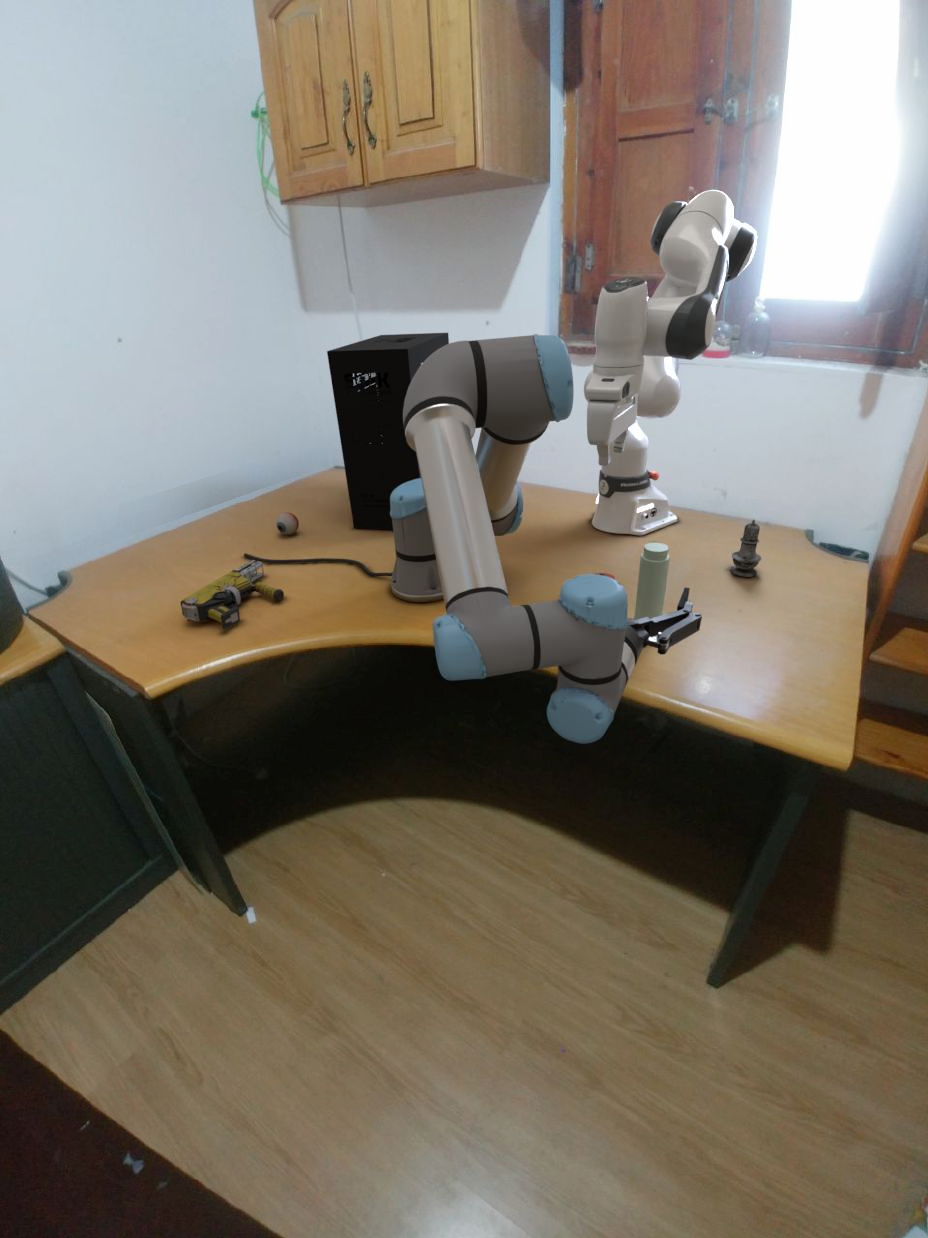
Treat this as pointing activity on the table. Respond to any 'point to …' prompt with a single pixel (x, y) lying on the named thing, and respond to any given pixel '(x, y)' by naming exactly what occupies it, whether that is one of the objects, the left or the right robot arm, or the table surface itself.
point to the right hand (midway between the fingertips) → (611, 458)
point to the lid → (606, 575)
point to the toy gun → (227, 596)
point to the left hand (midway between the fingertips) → (642, 587)
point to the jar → (652, 581)
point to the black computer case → (377, 418)
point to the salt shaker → (747, 552)
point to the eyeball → (287, 523)
